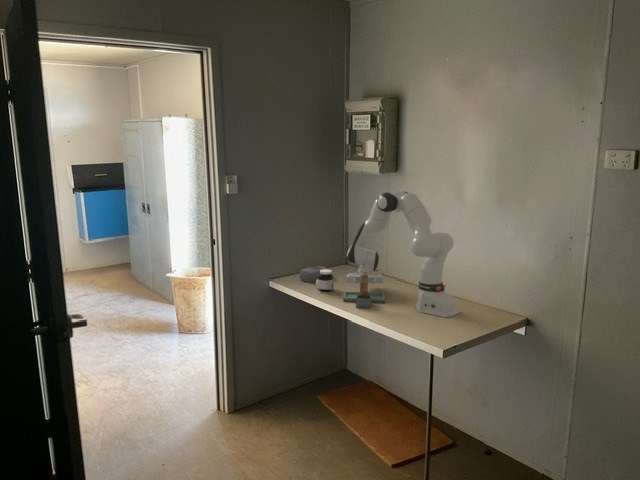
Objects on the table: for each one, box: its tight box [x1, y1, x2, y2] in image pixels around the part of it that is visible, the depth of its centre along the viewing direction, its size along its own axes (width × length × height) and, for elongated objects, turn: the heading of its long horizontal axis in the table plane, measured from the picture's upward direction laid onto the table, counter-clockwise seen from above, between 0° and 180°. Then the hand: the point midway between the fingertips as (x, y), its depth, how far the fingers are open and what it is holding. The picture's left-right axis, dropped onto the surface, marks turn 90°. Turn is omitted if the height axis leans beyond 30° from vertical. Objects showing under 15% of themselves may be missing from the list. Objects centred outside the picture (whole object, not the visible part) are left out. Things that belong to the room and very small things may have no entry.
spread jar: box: [315, 268, 335, 293], centre depth 296 cm, size 12×11×12 cm
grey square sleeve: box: [355, 294, 372, 309], centre depth 267 cm, size 8×8×5 cm
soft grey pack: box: [299, 265, 330, 283], centre depth 319 cm, size 15×8×20 cm
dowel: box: [359, 274, 369, 298], centre depth 265 cm, size 4×4×16 cm
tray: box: [342, 291, 386, 304], centre depth 279 cm, size 22×12×2 cm, turn 84°
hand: (364, 282), depth 275 cm, fingers open, 8 cm apart
